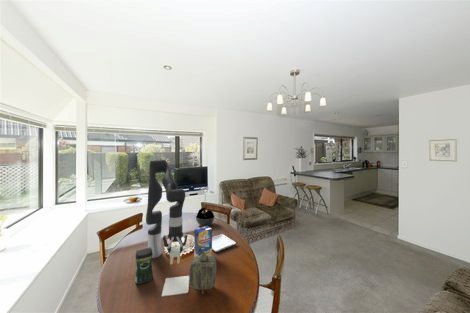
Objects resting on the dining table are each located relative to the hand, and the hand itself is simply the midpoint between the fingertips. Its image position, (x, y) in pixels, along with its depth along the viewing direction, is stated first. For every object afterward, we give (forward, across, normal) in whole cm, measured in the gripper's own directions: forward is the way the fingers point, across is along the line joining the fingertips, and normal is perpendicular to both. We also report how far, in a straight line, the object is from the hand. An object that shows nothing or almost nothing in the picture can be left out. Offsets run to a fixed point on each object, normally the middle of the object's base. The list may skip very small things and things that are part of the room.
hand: (175, 252), depth 104 cm
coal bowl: (+20, -19, -88) cm, 92 cm away
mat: (+20, -1, 0) cm, 20 cm away
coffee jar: (+20, +20, -9) cm, 29 cm away
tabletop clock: (+20, -16, +6) cm, 26 cm away
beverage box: (+20, -16, -26) cm, 36 cm away
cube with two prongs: (+5, 0, 0) cm, 5 cm away
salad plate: (+20, -30, -44) cm, 57 cm away
